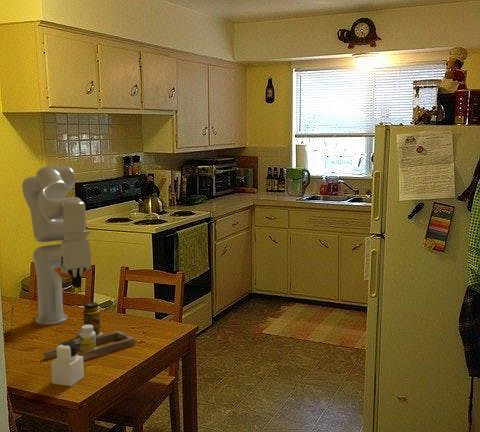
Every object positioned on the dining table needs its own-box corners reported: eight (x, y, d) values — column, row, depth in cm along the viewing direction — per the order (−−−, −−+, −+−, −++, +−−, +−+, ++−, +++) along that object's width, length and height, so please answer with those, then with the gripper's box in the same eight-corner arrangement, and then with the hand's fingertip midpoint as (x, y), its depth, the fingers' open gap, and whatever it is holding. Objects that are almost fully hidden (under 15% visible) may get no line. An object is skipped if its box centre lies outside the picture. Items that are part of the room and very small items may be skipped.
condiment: (103, 334, 213) (102, 304, 211) (82, 339, 208) (80, 308, 206) (97, 329, 219) (96, 299, 217) (76, 333, 214) (74, 303, 212)
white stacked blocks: (65, 374, 178) (63, 338, 176) (84, 377, 176) (82, 341, 174) (51, 383, 171) (49, 347, 169) (71, 386, 169) (69, 349, 167)
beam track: (40, 355, 192) (40, 348, 192) (114, 334, 212) (114, 327, 212) (59, 368, 182) (58, 360, 182) (135, 344, 202) (134, 337, 202)
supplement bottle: (76, 354, 194) (76, 327, 192) (87, 348, 198) (86, 322, 197) (89, 356, 191) (88, 329, 190) (99, 351, 196) (98, 325, 195)
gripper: (89, 231, 199) (91, 280, 202) (49, 237, 189) (52, 288, 192) (99, 235, 193) (101, 285, 197) (59, 240, 184) (61, 293, 187)
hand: (76, 286), depth 194 cm, fingers closed
